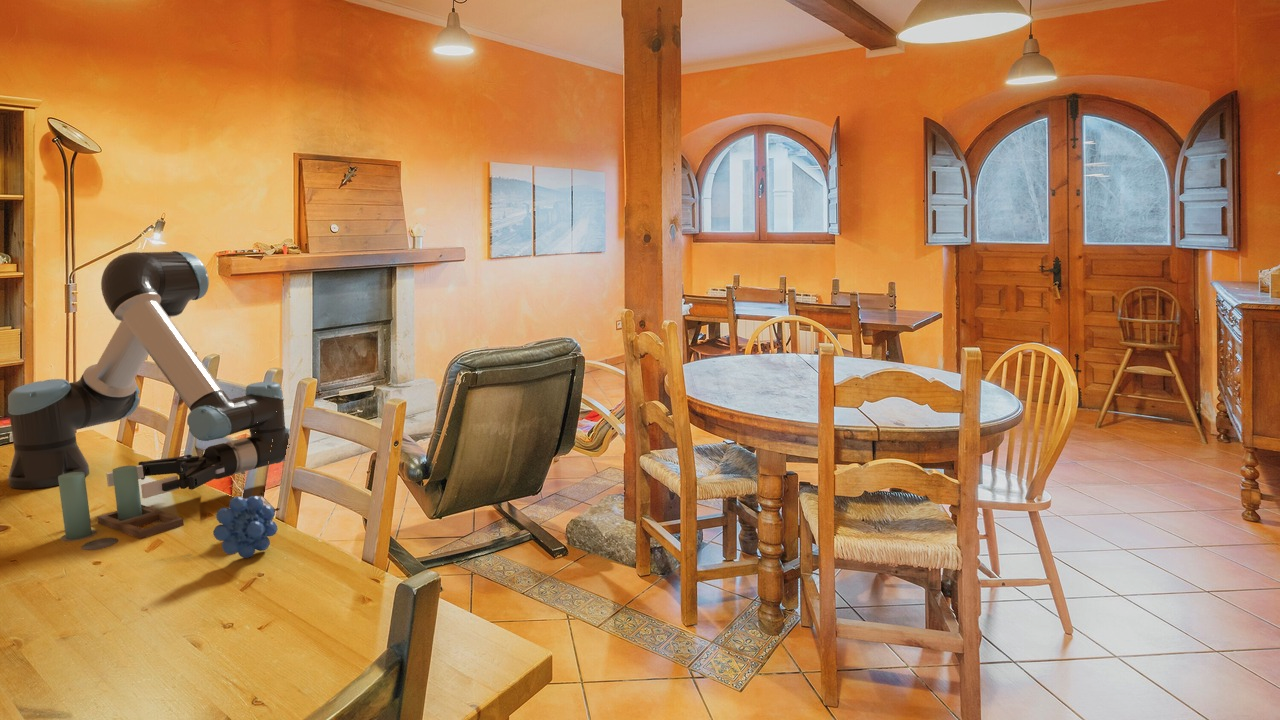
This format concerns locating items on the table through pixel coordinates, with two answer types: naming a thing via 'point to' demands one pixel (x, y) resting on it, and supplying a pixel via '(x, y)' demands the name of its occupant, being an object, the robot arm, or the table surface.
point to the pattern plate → (94, 542)
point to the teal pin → (127, 492)
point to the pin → (75, 505)
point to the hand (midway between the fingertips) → (124, 485)
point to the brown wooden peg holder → (142, 522)
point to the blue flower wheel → (245, 526)
